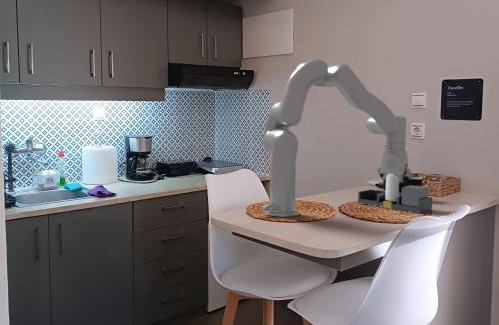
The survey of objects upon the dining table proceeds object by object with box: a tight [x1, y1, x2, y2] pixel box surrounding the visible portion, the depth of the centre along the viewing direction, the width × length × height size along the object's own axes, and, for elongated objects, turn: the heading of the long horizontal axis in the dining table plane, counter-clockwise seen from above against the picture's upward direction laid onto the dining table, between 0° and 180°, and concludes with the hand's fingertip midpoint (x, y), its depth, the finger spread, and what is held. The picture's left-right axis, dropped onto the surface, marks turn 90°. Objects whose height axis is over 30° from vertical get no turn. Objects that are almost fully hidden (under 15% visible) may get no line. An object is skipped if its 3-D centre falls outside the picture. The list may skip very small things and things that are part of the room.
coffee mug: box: [405, 176, 424, 187], centre depth 219 cm, size 12×9×10 cm
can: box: [385, 174, 402, 202], centre depth 202 cm, size 6×6×12 cm
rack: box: [357, 185, 433, 214], centre depth 203 cm, size 10×28×9 cm, turn 44°
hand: (393, 190), depth 202 cm, fingers closed on can, 6 cm apart
